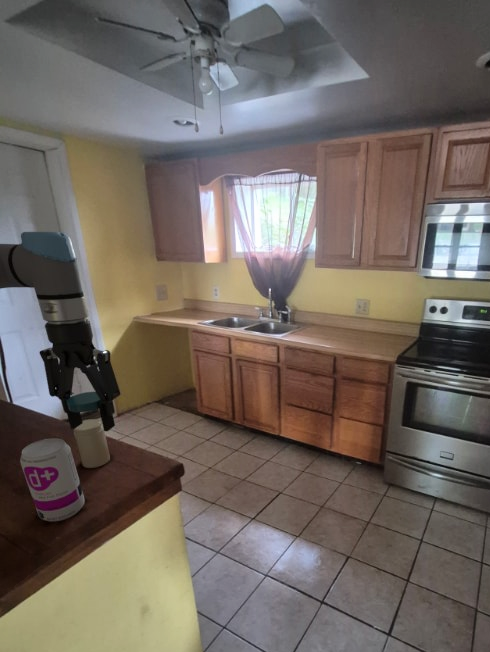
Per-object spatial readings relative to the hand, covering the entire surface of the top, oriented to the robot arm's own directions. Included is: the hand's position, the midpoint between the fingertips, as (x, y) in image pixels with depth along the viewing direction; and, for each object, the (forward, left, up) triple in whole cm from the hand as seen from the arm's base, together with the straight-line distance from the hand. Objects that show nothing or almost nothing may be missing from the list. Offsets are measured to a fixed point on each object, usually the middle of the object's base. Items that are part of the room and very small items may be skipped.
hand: (93, 427), depth 80 cm
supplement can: (-3, -10, -15) cm, 18 cm away
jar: (-8, +8, -14) cm, 18 cm away
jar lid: (0, 0, +6) cm, 6 cm away
